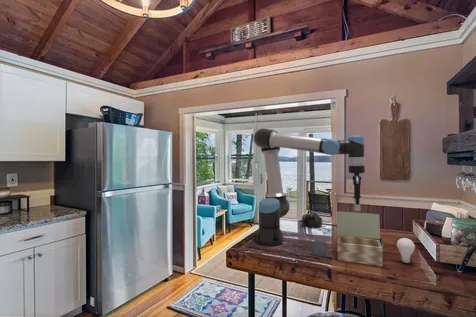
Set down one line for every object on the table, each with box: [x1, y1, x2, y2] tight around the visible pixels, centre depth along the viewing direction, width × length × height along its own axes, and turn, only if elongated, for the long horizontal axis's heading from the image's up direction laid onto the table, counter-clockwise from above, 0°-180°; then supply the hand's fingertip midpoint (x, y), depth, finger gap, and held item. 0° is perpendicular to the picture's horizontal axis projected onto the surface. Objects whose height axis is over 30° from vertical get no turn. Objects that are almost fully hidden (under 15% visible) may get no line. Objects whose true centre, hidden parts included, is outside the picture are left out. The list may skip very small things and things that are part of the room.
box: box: [337, 235, 383, 267], centre depth 118 cm, size 18×11×8 cm, turn 67°
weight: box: [313, 237, 327, 258], centre depth 123 cm, size 5×5×7 cm
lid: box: [336, 210, 381, 239], centre depth 123 cm, size 19×11×1 cm
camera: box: [301, 211, 323, 229], centre depth 170 cm, size 13×10×10 cm
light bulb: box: [396, 237, 416, 264], centre depth 112 cm, size 7×7×11 cm
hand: (357, 210), depth 132 cm, fingers closed
